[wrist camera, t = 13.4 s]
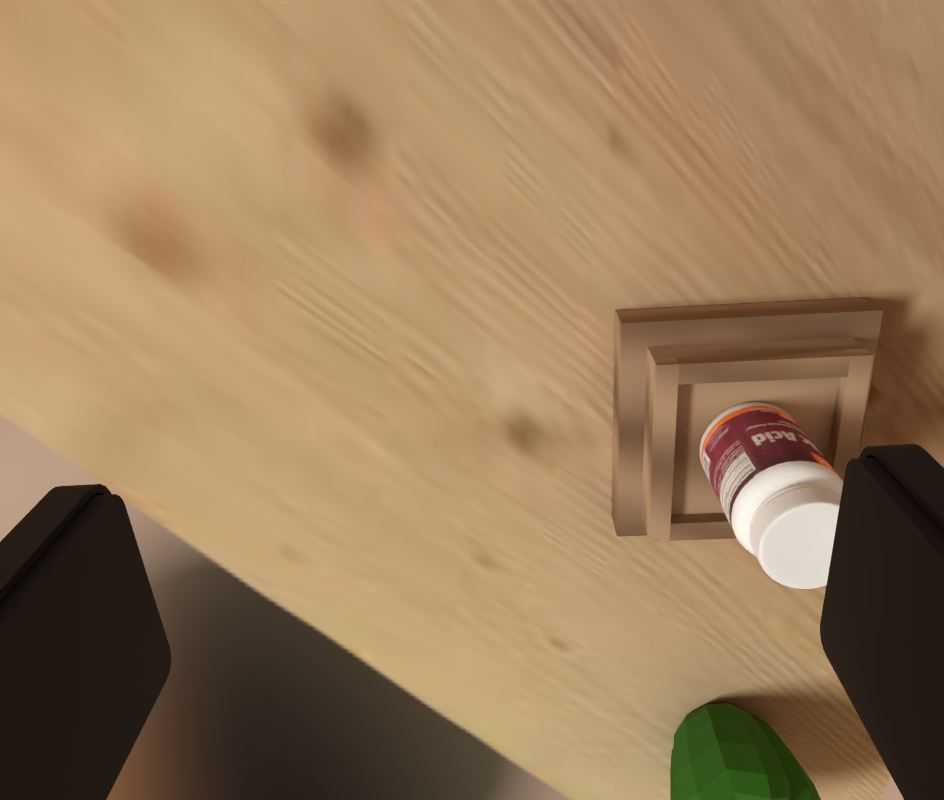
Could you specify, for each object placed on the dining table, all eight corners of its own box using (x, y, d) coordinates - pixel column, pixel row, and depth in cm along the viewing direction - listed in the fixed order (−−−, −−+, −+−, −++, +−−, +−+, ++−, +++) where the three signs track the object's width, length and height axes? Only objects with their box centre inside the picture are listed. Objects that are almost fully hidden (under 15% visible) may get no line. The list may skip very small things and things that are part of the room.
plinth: (615, 310, 38) (629, 340, 34) (864, 297, 37) (907, 326, 33) (611, 515, 43) (623, 562, 39) (831, 507, 42) (865, 554, 38)
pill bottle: (815, 414, 36) (902, 513, 28) (770, 497, 38) (839, 610, 30) (722, 387, 35) (784, 479, 28) (681, 472, 37) (728, 580, 30)
